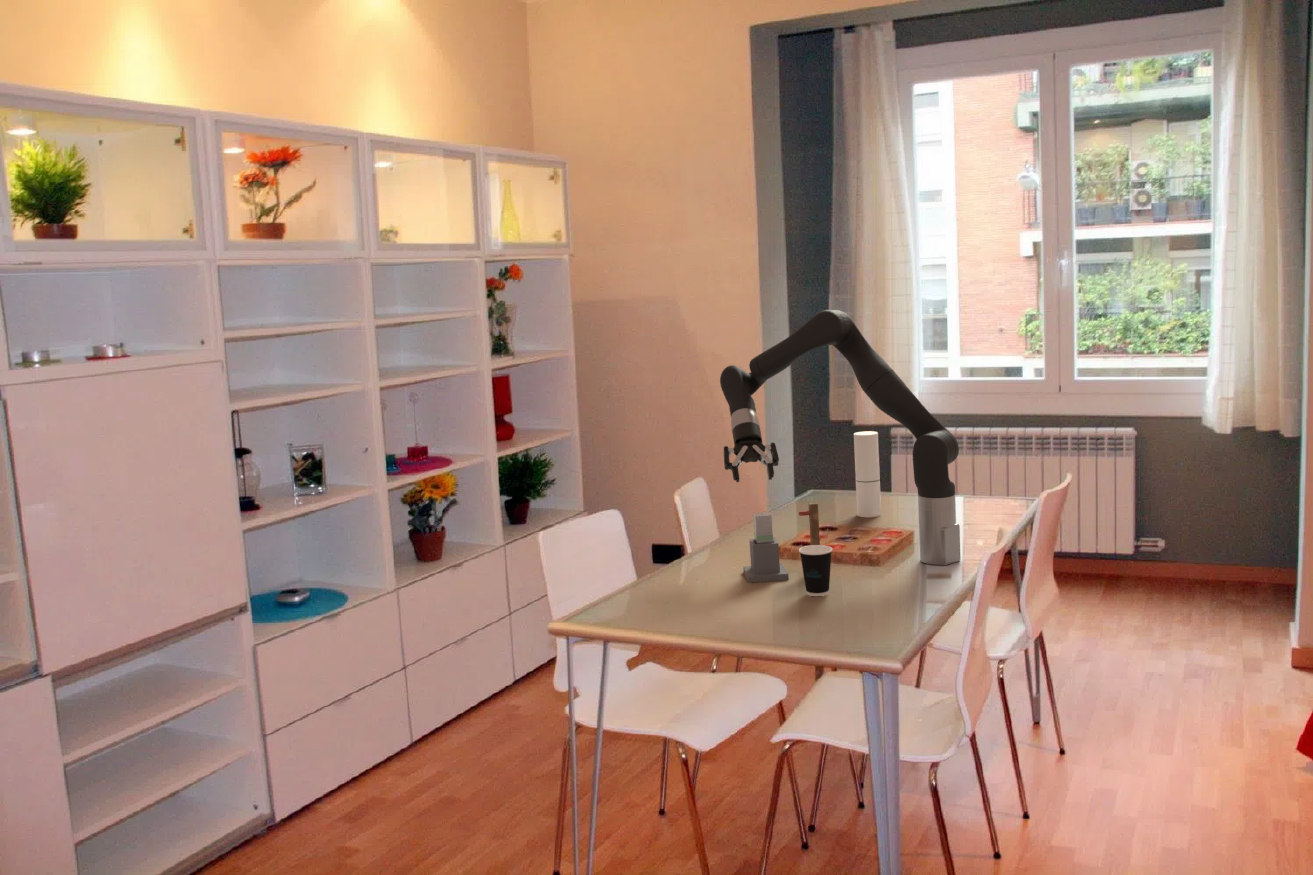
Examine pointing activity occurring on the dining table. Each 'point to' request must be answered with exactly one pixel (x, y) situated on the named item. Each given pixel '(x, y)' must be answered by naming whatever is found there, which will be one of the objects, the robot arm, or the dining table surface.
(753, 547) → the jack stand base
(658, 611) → the dining table surface
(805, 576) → the dixie cup
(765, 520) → the steel column
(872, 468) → the cylindrical container
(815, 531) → the height gauge
